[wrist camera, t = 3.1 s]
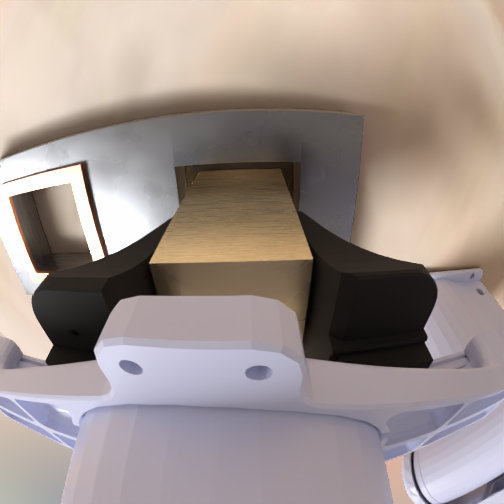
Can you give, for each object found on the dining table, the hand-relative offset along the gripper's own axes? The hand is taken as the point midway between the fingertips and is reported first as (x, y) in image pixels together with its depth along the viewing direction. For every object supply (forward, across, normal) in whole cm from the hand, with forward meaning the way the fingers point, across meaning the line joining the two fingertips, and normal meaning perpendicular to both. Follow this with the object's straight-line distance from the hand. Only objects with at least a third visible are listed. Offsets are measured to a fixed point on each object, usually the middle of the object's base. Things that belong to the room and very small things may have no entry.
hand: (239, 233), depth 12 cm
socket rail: (+3, +6, 0) cm, 6 cm away
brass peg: (+3, 0, 0) cm, 3 cm away
